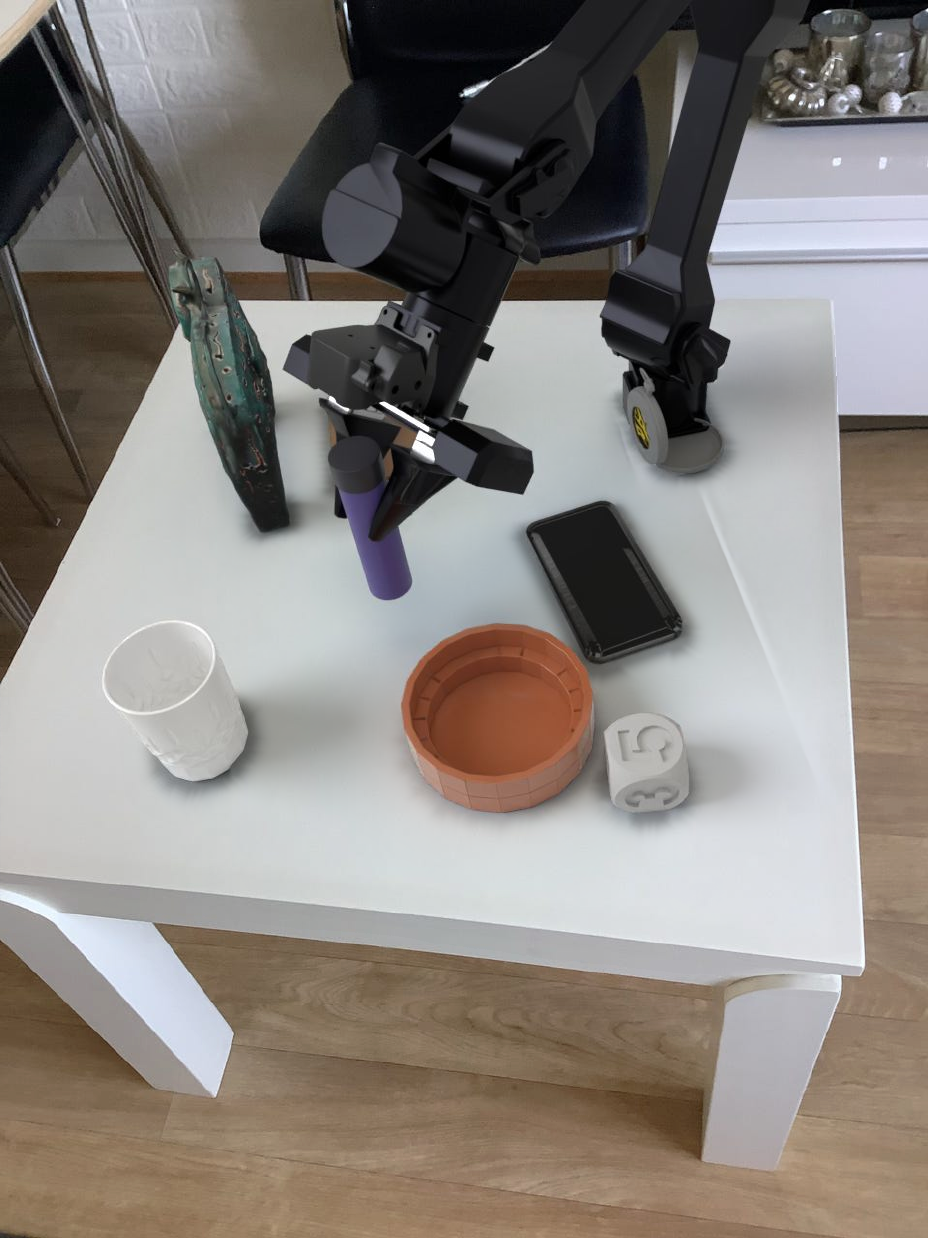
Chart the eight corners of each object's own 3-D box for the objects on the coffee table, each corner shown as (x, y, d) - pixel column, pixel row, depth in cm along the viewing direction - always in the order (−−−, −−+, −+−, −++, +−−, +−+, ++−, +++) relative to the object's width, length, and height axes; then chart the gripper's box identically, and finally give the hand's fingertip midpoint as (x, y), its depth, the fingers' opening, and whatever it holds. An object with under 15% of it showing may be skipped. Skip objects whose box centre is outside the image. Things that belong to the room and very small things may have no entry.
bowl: (573, 645, 80) (570, 608, 77) (612, 796, 72) (611, 762, 68) (403, 677, 80) (393, 642, 77) (423, 831, 72) (412, 799, 69)
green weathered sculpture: (217, 405, 104) (143, 220, 88) (280, 388, 104) (218, 201, 89) (243, 545, 91) (163, 358, 76) (315, 524, 92) (250, 335, 76)
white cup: (274, 711, 80) (235, 631, 72) (227, 800, 76) (181, 725, 68) (185, 690, 82) (138, 610, 74) (134, 775, 78) (79, 700, 70)
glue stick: (417, 567, 78) (385, 435, 68) (408, 603, 76) (372, 473, 66) (374, 564, 79) (335, 434, 68) (363, 600, 77) (321, 471, 66)
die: (603, 754, 74) (602, 715, 70) (675, 747, 74) (677, 708, 70) (613, 818, 71) (612, 781, 67) (687, 811, 71) (691, 773, 67)
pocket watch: (737, 442, 92) (747, 348, 84) (686, 500, 88) (691, 408, 80) (657, 410, 96) (659, 317, 88) (604, 465, 92) (602, 374, 84)
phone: (589, 661, 78) (521, 525, 87) (590, 670, 78) (523, 534, 88) (688, 628, 78) (610, 496, 88) (688, 637, 79) (611, 505, 88)
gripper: (265, 225, 65) (183, 456, 69) (480, 334, 55) (368, 593, 60) (382, 273, 74) (302, 474, 78) (584, 374, 64) (480, 596, 69)
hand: (356, 528), depth 71 cm, fingers closed on glue stick, 3 cm apart
